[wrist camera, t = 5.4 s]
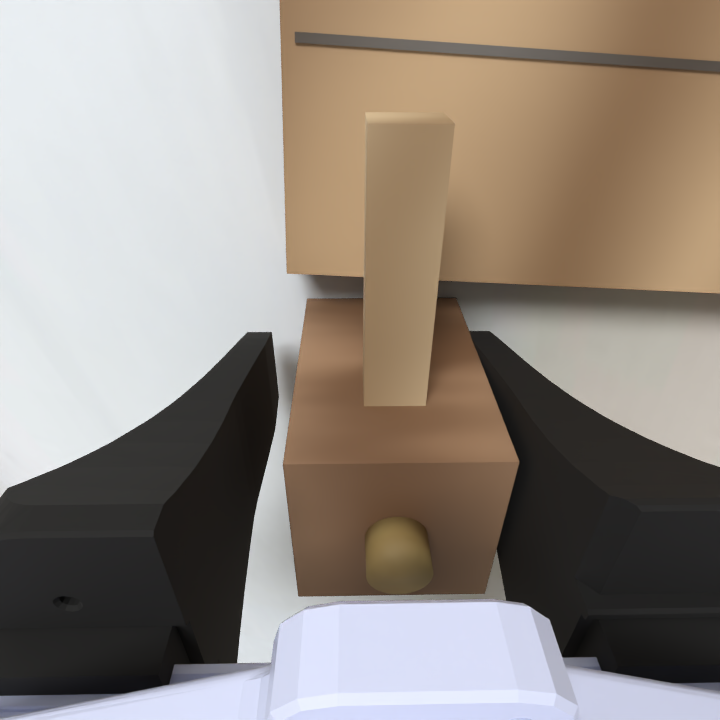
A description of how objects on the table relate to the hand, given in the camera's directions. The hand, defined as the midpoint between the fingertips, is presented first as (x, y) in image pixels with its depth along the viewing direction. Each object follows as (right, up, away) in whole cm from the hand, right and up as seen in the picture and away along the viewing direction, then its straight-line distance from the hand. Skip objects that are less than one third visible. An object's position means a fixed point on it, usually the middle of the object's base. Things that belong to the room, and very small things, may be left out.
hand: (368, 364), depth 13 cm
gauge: (0, +2, 0) cm, 2 cm away
